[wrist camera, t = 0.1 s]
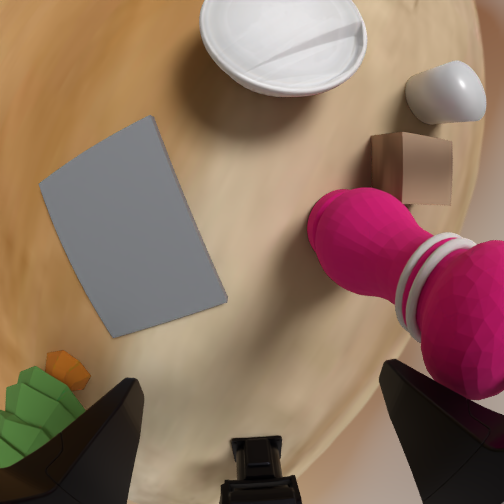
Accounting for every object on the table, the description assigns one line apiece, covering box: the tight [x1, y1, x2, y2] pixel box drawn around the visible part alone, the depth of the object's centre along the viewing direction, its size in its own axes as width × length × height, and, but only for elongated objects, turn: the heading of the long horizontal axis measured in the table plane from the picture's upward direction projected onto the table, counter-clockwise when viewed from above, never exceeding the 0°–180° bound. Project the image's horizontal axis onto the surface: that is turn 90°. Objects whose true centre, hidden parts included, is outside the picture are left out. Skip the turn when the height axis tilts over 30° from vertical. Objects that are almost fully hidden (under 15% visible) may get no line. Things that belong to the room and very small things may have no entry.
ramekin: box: [199, 0, 367, 97], centre depth 15 cm, size 11×11×5 cm
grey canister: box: [405, 61, 486, 125], centre depth 16 cm, size 5×5×6 cm
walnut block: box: [371, 132, 453, 206], centre depth 19 cm, size 5×5×5 cm
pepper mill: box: [307, 187, 504, 400], centre depth 13 cm, size 7×7×20 cm
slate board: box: [39, 115, 228, 338], centre depth 21 cm, size 16×12×1 cm
